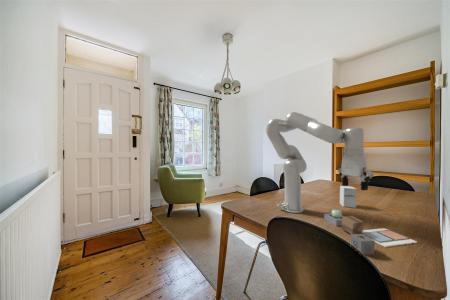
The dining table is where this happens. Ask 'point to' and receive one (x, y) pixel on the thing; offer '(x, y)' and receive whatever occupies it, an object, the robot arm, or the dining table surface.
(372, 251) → the dice cube
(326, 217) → the button housing
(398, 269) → the dining table surface
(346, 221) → the walnut block
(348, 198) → the supplement box
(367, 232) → the picture card
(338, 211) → the button
